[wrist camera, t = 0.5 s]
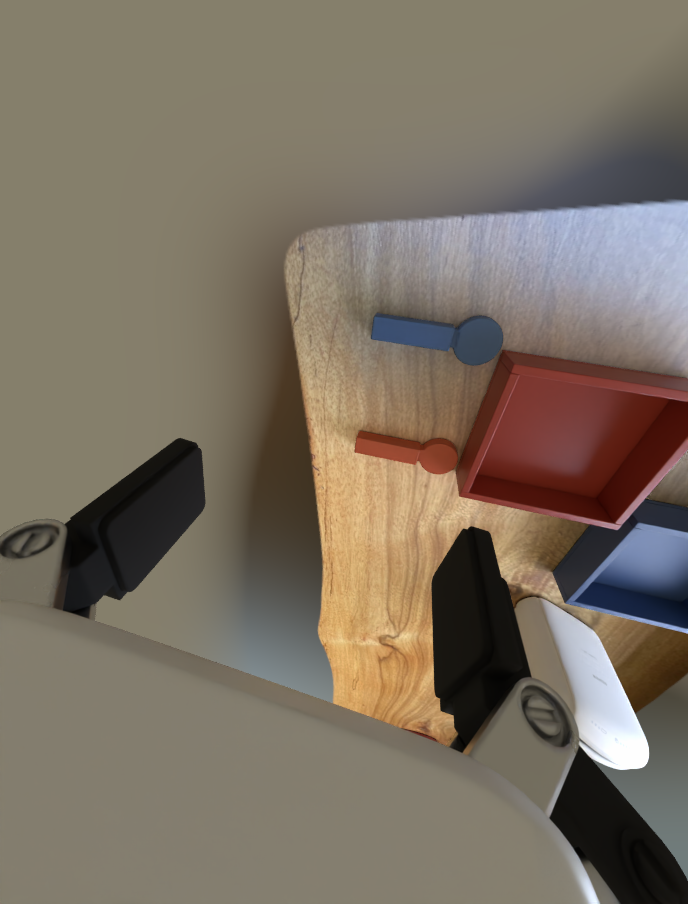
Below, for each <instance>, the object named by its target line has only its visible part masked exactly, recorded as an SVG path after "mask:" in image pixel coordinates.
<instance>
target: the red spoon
mask: <svg viewBox="0 0 688 904" xmlns="http://www.w3.org/2000/svg"><path fill="white" fill-rule="evenodd" d="M355 453H360V454H365V455H370V456H375V457H380V458H385V459H390V460H394V461H399V462H404V463H409V464H414V465H416V463H417V461H420V463H421V465H422V467H423V468H424V469H425V470H426V471H428V472H430V473H433V474H444V473H447V472H449V471H451V470H452V469H454V467H455V466H456V465H457V462H458V454H457V449H456V447H455V446H454V444H453V443H452V442H450V441H448V440H446V439H441V438H437V439H432V440H429V441H428V442H426V443H425V444H424V445H421V444H420V443H419V442H415V441H410V440H404V439H399V438H394V437H389V436H384V435H379V434H374V433H369V432H364V431H359V432H358V435H357V438H356V444H355Z"/></svg>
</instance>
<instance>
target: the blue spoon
mask: <svg viewBox="0 0 688 904" xmlns="http://www.w3.org/2000/svg"><path fill="white" fill-rule="evenodd" d="M371 339H373V340H379V341H386V342H392V343H398V344H404V345H411V346H417V347H423V348H430V349H436V350H442V351H449V348H450V347H451V348H453V349H454V352H455V355H456V357H457V358H458V359H459V360H460V361H461V362H463V363H465V364H467V365H473V366H474V365H481V364H484V363H486V362H488V361H490V360H491V359H493V358H494V357H495V356H496V355H497V353H498V352H499V350H500V349H501V346H502V343H503V333H502V330H501V328H500V326H499V325H498V324H497V323H496V322H495V321H494V320H493V319H491V318H489V317H487V316H474V317H471V318H469V319H467V320H465V321H464V322H463V323H461V324H460V325H459V327H458V328H455V327H454V325H453V324H448V323H441V322H435V321H428V320H421V319H414V318H408V317H401V316H394V315H387V314H380V313H376V315H375V316H374V320H373V327H372V334H371Z"/></svg>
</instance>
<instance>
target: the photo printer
mask: <svg viewBox="0 0 688 904" xmlns="http://www.w3.org/2000/svg"><path fill="white" fill-rule="evenodd" d="M514 611H515V614H516V618H517V622H518V626H519V630H520V634H521V637H522V641H523V645H524V649H525V653H526V657H527V660H528V664H529V668H530V672H531V676H532V678H535V679H539V680H540V681H542V682H544V683H546V684H548V685H549V686H550V687H551V688H552V689H554V690H555V691H556V692H557V693H558V694H559V695H560V697H561V698H562V699H563V700H564V701H565V702H566V704H567V706H568V707H569V709H570V711H571V712H572V714H573V716H574V718H575V721H576V724H577V726H578V731H579V737H580V741H579V745H580V746H581V748H582V749H583V750H584V751H585V752H586V753H587V755H588V756H589V757H590V758H592V759H594V760H596V761H598V762H600V763H602V764H604V765H606V766H609V767H612V768H615V769H622V770H625V769H630V768H634V769H637V768H641V767H643V766H645V765H646V763H647V761H648V756H649V748H648V743H647V740H646V738H645V735H644V733H643V731H642V729H641V727H640V724H639V722H638V720H637V718H636V715H635V713H634V711H633V709H632V707H631V705H630V703H629V700H628V698H627V696H626V694H625V692H624V690H623V688H622V685H621V683H620V681H619V679H618V677H617V675H616V673H615V670H614V668H613V666H612V664H611V662H610V660H609V658H608V656H607V653H606V651H605V649H604V647H603V645H602V643H601V641H600V639H599V637H598V636H597V635H596V633H595V632H594V631H593V630H592V629H590V628H589V627H588V626H586V625H585V624H583V623H582V622H581V621H579V620H578V619H576V618H574V617H573V616H571V615H570V614H568V613H567V612H565V611H564V610H562V609H560V608H559V607H557V606H555V605H554V604H552V603H550V602H549V601H547V600H545V599H542V598H537V597H529V598H525V599H523V600H521V601H519V602H518V603H517V605H516V608H515V609H514Z"/></svg>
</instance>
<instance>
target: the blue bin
mask: <svg viewBox="0 0 688 904" xmlns="http://www.w3.org/2000/svg"><path fill="white" fill-rule="evenodd" d="M553 575H554V578H555V580H556V582H557V585H558V587H559V590H560V592H561V595H562V597H563V600H564V602H565V603H566V604H570V605H574V606H578V607H582V608H586V609H590V610H594V611H598V612H603V613H607V614H611V615H615V616H619V617H623V618H627V619H631V620H635V621H639V622H643V623H648V624H652V625H656V626H660V627H664V628H668V629H672V630H676V631H680V632H684V633H688V508H687V507H682V506H677V505H672V504H667V503H662V502H657V501H652V500H647V499H644V501H643V502H642V503H641V504H640V505H639V506H638V507H637V509H636V510H635V511H634V512H633V513H632V514H631V515H630V517H629V518H628V519H627V520H626V521H625V522H624V523H623V524H622V526H621V527H620V528H619V529H618V530H614V529H610V528H605V527H600V526H596V525H591V524H590V526H589V527H588V528H587V529H586V531H585V532H584V533H583V535H582V536H581V537H580V538H579V540H578V541H577V542H576V543H575V545H574V546H573V547H572V548H571V550H570V551H569V552H568V554H567V555H566V556H565V557H564V559H563V560H562V561H561V562H560V564H559V565H558V566H557V567H556V569H555V570H554V571H553Z"/></svg>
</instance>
